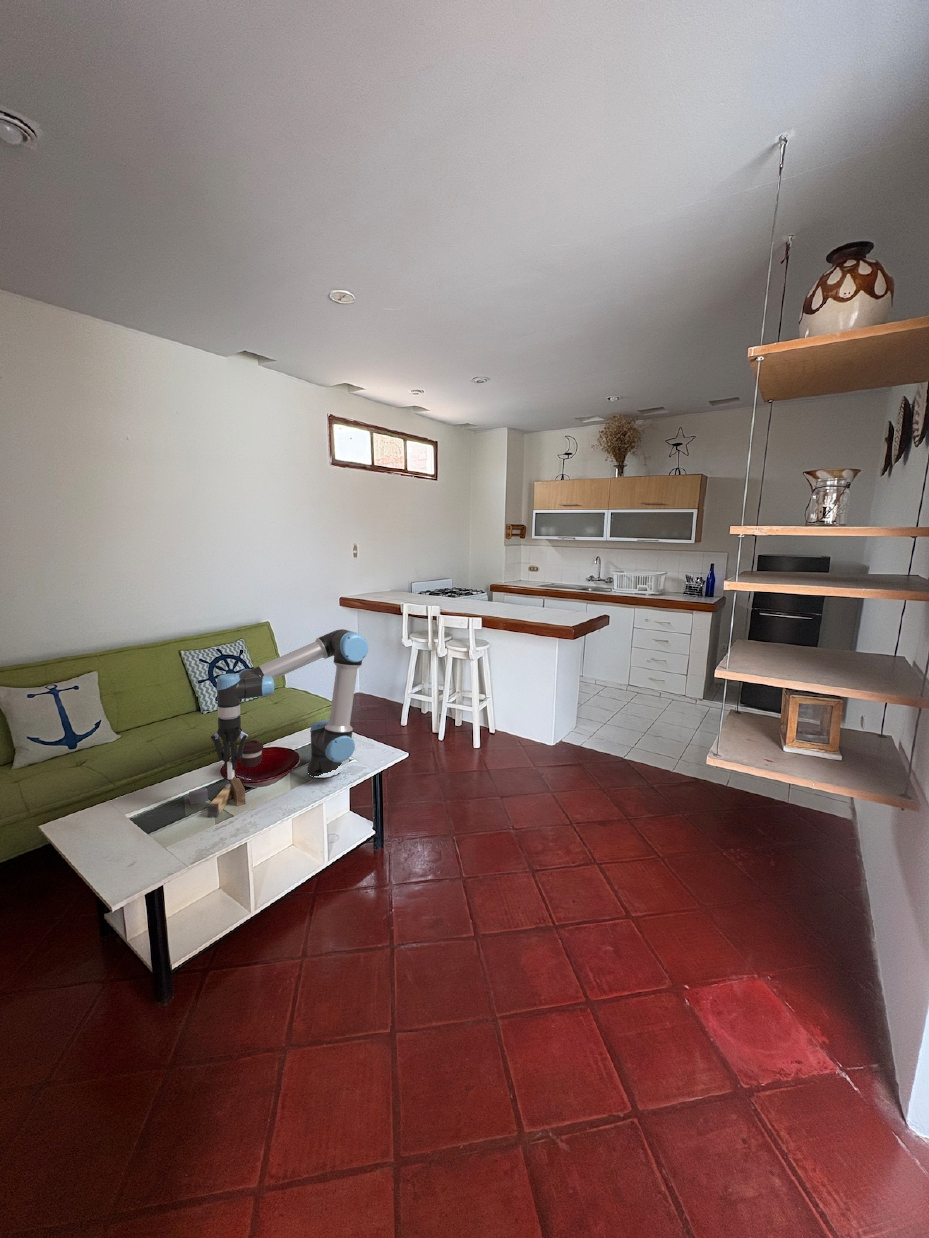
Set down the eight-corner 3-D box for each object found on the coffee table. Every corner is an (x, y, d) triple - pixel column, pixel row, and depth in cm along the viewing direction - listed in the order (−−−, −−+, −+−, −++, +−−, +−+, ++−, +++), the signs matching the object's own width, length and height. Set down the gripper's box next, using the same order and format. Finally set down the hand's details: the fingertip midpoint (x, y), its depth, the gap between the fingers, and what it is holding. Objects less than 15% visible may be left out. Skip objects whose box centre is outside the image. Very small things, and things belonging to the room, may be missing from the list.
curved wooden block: (238, 790, 200) (237, 775, 200) (245, 803, 189) (244, 789, 188) (230, 791, 199) (229, 777, 198) (237, 806, 187) (236, 791, 186)
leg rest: (206, 797, 194) (206, 787, 193) (208, 800, 191) (207, 790, 191) (189, 801, 190) (189, 791, 190) (190, 804, 188) (190, 794, 187)
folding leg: (225, 796, 194) (224, 783, 194) (233, 795, 195) (233, 783, 194) (207, 817, 179) (207, 803, 178) (217, 816, 179) (216, 803, 178)
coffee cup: (234, 777, 211) (233, 744, 210) (253, 769, 220) (252, 737, 218) (250, 782, 207) (248, 748, 205) (269, 774, 216) (268, 741, 214)
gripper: (251, 713, 184) (252, 773, 187) (215, 713, 183) (217, 773, 186) (243, 719, 177) (245, 781, 179) (206, 719, 176) (208, 782, 178)
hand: (231, 777), depth 183 cm, fingers closed
